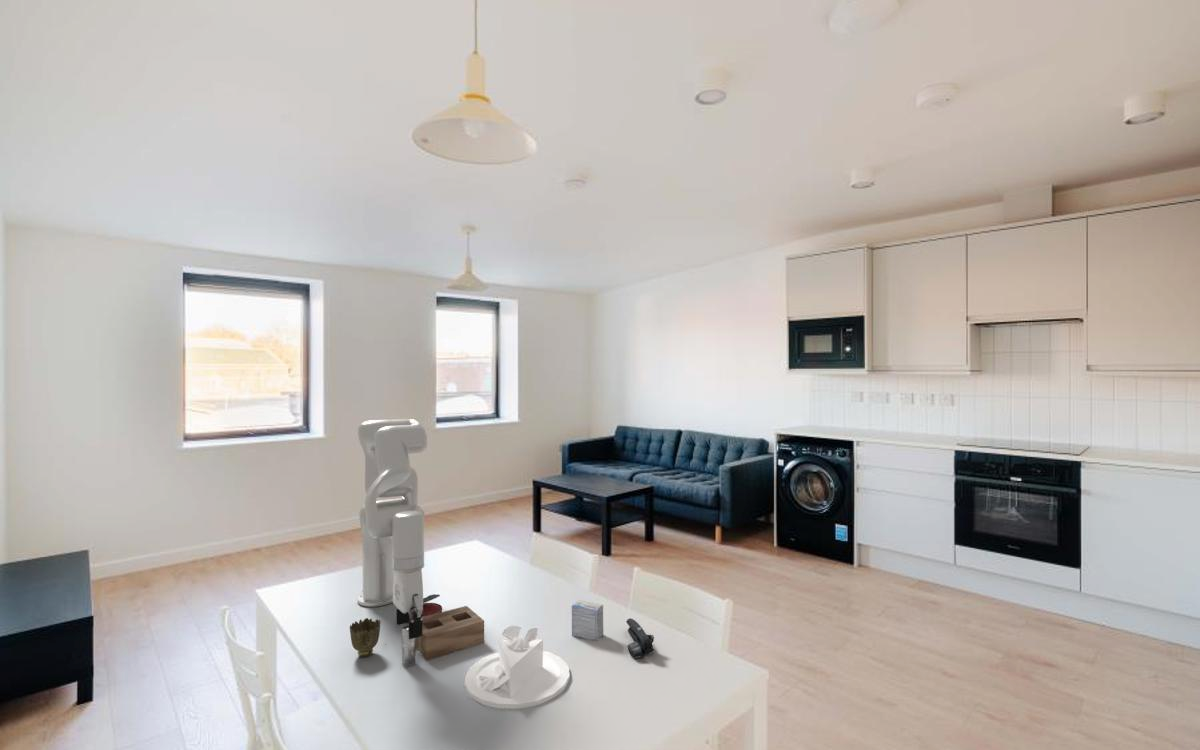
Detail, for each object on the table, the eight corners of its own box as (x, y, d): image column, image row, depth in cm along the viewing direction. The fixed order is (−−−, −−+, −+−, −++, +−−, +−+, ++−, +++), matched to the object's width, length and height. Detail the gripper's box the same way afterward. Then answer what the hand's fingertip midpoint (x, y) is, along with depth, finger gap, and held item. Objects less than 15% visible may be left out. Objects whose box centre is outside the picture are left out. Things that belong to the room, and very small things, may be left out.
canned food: (413, 642, 165) (396, 615, 163) (417, 623, 174) (400, 597, 172) (449, 622, 166) (432, 594, 164) (451, 604, 176) (435, 578, 174)
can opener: (658, 660, 146) (658, 638, 146) (631, 662, 145) (631, 640, 145) (642, 629, 163) (642, 609, 163) (618, 630, 162) (618, 611, 162)
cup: (386, 650, 151) (386, 620, 151) (366, 663, 144) (366, 632, 144) (363, 645, 153) (363, 616, 153) (343, 658, 146) (343, 627, 146)
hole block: (410, 642, 155) (410, 620, 155) (466, 626, 164) (466, 605, 164) (425, 660, 145) (425, 637, 145) (484, 642, 155) (484, 620, 155)
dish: (478, 653, 150) (478, 610, 150) (573, 654, 149) (573, 611, 149) (451, 708, 125) (451, 657, 125) (564, 711, 124) (564, 659, 124)
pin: (400, 663, 144) (400, 627, 144) (413, 659, 146) (413, 624, 146) (404, 668, 142) (404, 632, 141) (417, 664, 143) (417, 628, 143)
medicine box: (603, 635, 159) (603, 604, 159) (597, 641, 155) (597, 610, 155) (578, 629, 163) (578, 599, 163) (571, 636, 159) (571, 605, 159)
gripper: (383, 556, 148) (383, 622, 148) (404, 574, 134) (404, 647, 134) (412, 550, 152) (412, 615, 152) (435, 567, 139) (436, 638, 138)
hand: (409, 630), depth 143 cm, fingers open, 9 cm apart
